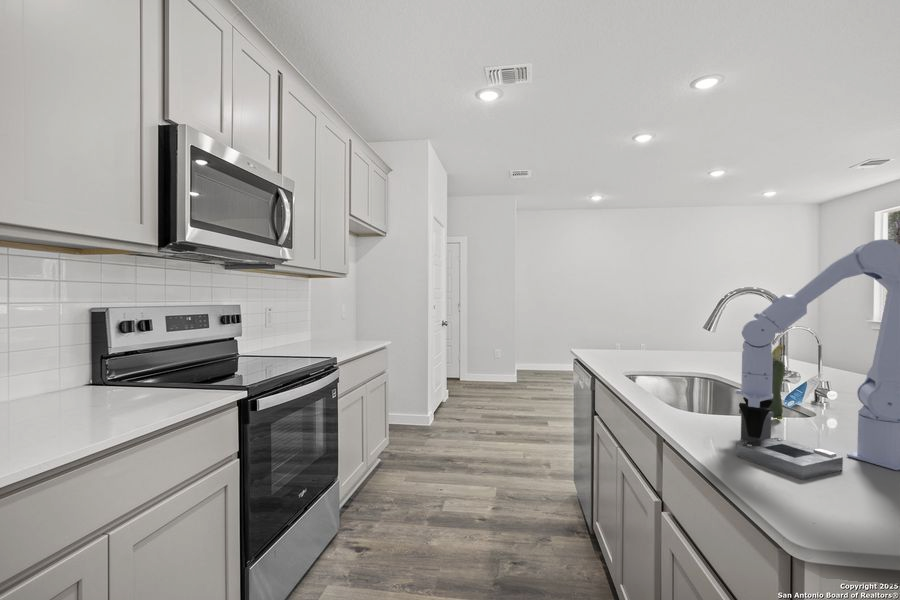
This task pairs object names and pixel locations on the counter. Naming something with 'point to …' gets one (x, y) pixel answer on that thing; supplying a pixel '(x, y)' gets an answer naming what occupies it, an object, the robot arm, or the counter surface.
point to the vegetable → (777, 383)
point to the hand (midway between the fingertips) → (755, 432)
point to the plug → (765, 431)
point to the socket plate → (790, 457)
